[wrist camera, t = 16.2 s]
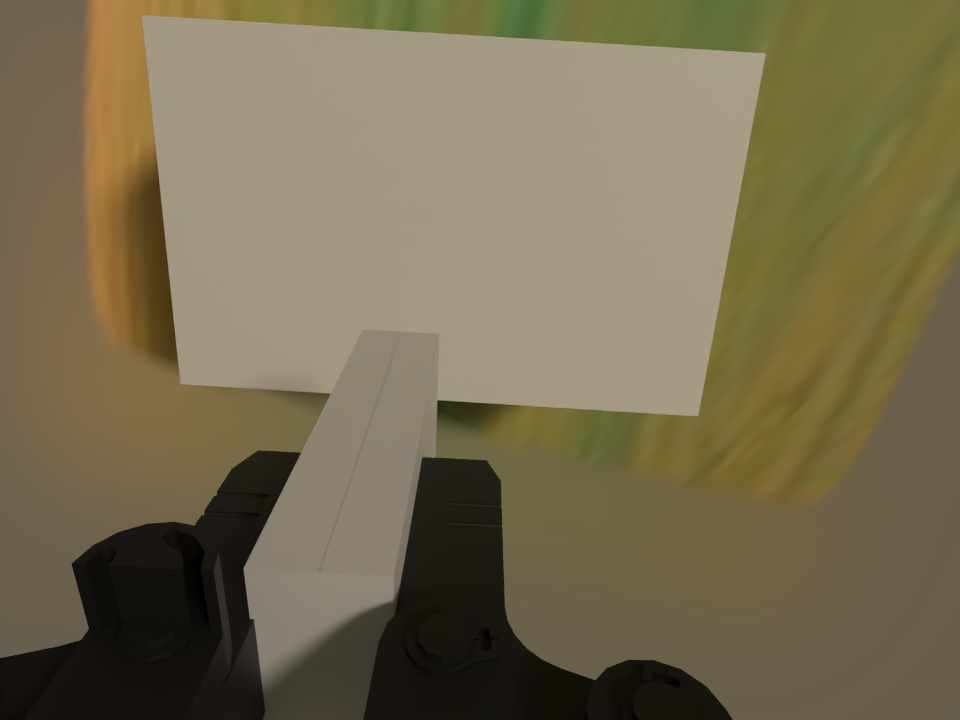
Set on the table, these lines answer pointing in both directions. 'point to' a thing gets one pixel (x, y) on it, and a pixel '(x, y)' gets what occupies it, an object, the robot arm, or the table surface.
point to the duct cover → (448, 207)
